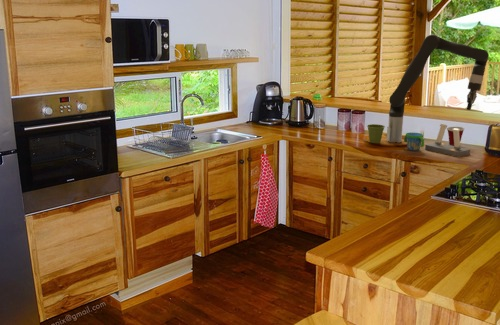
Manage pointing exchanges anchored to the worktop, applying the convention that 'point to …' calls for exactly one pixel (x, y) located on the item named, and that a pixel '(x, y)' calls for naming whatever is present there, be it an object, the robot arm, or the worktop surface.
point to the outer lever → (456, 138)
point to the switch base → (447, 149)
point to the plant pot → (375, 132)
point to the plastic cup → (451, 135)
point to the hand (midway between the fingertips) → (468, 109)
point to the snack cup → (414, 141)
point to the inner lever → (441, 134)
